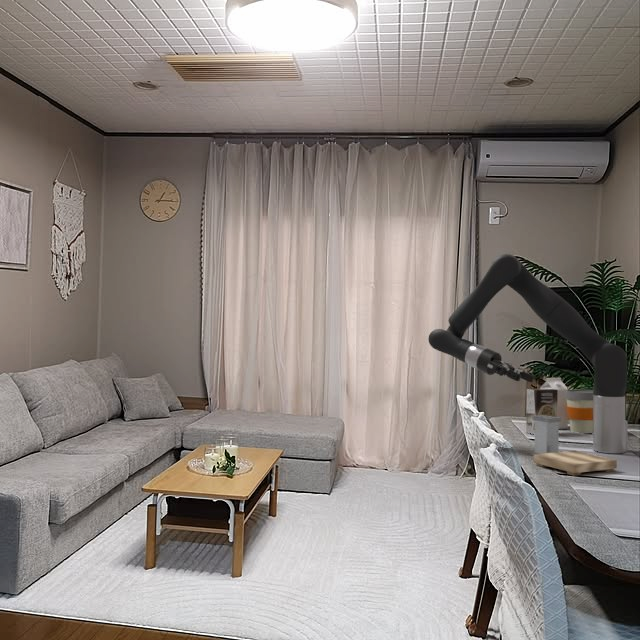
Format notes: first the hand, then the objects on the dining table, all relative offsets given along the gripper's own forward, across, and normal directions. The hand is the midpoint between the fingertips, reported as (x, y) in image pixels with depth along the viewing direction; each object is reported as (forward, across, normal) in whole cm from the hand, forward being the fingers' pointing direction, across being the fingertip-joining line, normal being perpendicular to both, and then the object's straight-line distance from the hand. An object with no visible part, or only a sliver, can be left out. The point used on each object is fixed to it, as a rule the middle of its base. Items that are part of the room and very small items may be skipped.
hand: (526, 379), depth 209 cm
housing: (+14, +1, +19) cm, 24 cm away
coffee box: (-7, +42, +22) cm, 48 cm away
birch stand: (+26, -9, +16) cm, 32 cm away
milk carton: (-10, +58, +22) cm, 63 cm away
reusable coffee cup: (+2, +56, +18) cm, 59 cm away
